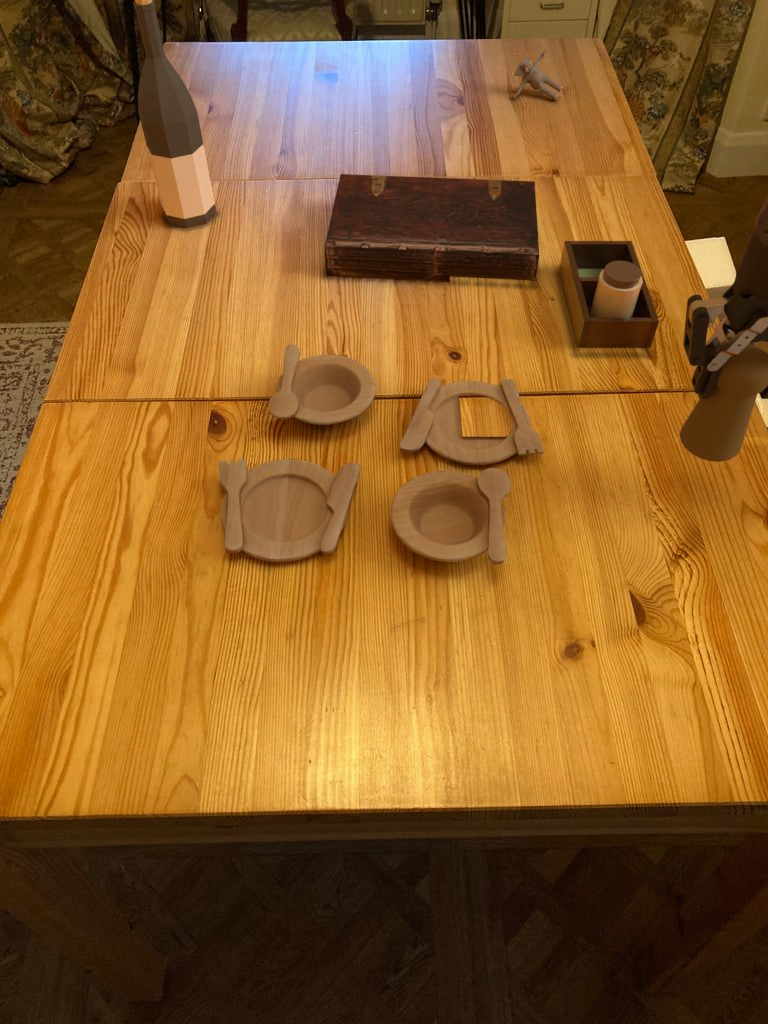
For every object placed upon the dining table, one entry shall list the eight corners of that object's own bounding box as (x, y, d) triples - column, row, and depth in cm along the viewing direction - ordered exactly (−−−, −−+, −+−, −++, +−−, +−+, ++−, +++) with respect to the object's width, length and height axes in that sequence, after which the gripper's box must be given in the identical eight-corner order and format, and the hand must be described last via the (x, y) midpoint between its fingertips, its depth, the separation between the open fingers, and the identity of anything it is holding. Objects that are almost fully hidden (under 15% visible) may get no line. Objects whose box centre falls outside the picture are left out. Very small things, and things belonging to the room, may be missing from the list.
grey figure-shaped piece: (544, 112, 138) (503, 84, 138) (541, 125, 144) (501, 97, 144) (578, 62, 137) (536, 33, 137) (573, 77, 143) (533, 49, 143)
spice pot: (624, 312, 101) (640, 258, 95) (632, 337, 98) (648, 283, 91) (584, 312, 101) (597, 258, 95) (591, 337, 98) (605, 283, 91)
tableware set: (192, 557, 78) (184, 533, 75) (260, 366, 96) (255, 340, 93) (540, 596, 75) (546, 573, 72) (542, 391, 93) (548, 366, 90)
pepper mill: (754, 451, 77) (799, 367, 68) (703, 468, 75) (742, 385, 67) (716, 411, 80) (755, 326, 71) (667, 427, 79) (700, 343, 70)
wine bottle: (159, 228, 115) (101, 0, 92) (167, 200, 120) (113, -23, 97) (213, 227, 115) (169, -1, 92) (219, 199, 120) (178, -24, 97)
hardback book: (326, 276, 108) (323, 244, 104) (342, 205, 119) (340, 174, 115) (534, 286, 106) (539, 254, 102) (529, 212, 118) (534, 181, 114)
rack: (622, 272, 108) (631, 240, 104) (648, 353, 97) (659, 321, 93) (558, 272, 108) (564, 240, 104) (576, 353, 97) (584, 321, 93)
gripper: (726, 260, 57) (664, 422, 70) (921, 258, 57) (821, 421, 70) (701, 205, 62) (647, 367, 75) (882, 204, 61) (795, 366, 75)
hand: (732, 392), depth 73 cm, fingers closed on pepper mill, 5 cm apart
